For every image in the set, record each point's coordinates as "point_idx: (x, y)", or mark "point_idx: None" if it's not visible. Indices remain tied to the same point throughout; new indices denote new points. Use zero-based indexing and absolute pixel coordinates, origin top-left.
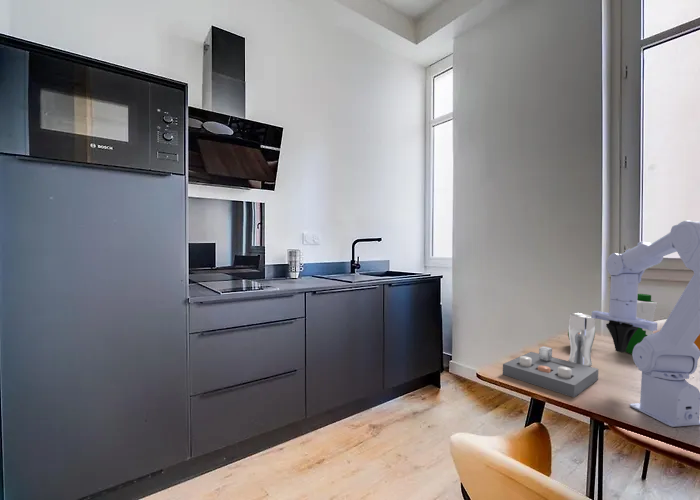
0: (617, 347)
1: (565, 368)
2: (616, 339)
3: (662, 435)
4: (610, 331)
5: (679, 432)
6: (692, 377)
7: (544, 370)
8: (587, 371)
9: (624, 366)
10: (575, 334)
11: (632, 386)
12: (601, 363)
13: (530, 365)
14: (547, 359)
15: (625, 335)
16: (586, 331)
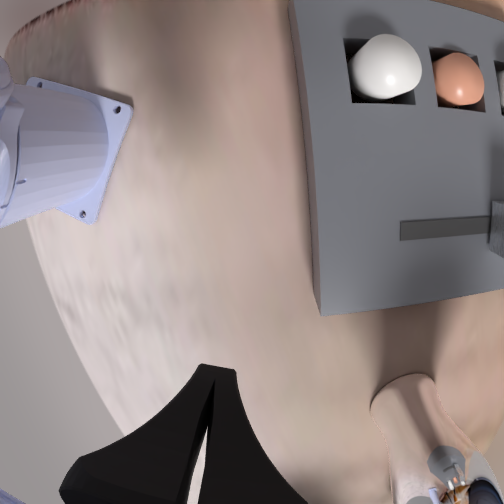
0: (217, 379)
1: (392, 66)
2: (214, 418)
3: (43, 16)
4: (264, 469)
5: (22, 72)
6: None
7: (449, 54)
8: (341, 229)
9: (294, 467)
10: (463, 454)
11: (207, 331)
12: (350, 445)
13: (502, 84)
14: (497, 201)
15: (123, 441)
16: (430, 489)
